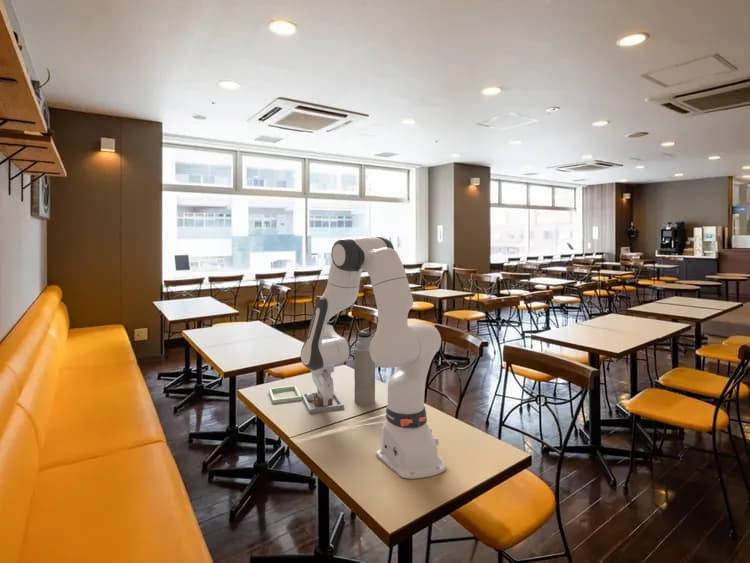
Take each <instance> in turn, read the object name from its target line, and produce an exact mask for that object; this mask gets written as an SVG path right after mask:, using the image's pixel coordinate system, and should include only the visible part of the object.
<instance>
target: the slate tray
mask: <svg viewBox="0 0 750 563" xmlns="http://www.w3.org/2000/svg"><path fill="white" fill-rule="evenodd" d="M317 392H318V391H316V392H315V391H314V392H308V393H300V395H301V400H302V401H303V403H304V405H305V407H306V408H307V409H306V410H307V411H308V413H309V414H314V413H321V412H328V411H335V410H342V409H345V404H344V403H343V401H342V400H341V398H340V397H339V396H338V394H337V393H336V391H334V396H333V398H334V400H336V401H335V402H337V404H334V405H332V406H325V407H318V408H317V407H311V405H310V403H309V401H307V399H306V395H307V394H309V393H311V394H313V396H314V395H316V394H317Z"/></svg>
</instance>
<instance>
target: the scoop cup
mask: <svg viewBox="0 0 750 563" xmlns="http://www.w3.org/2000/svg"><path fill="white" fill-rule="evenodd" d="M333 398H334V397H333ZM333 398H329V400H328V405H327V406H332V405H333V404H334V402H333V401H334V400H333ZM322 400H323V399H320V400H318V399H317V394H316V395H314V398H313V405H315V408H318V407H325V406H324V405H323V401H322Z"/></svg>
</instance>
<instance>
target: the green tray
mask: <svg viewBox="0 0 750 563" xmlns="http://www.w3.org/2000/svg"><path fill="white" fill-rule="evenodd" d="M291 391H294V392H295V394H296V395H295V396H289V397H288V396H287V397H279V398H275V397H274V395H278V394H282V393H288V392H291ZM268 394H269V397H270V400H271V401H272V402H271V403H272V404H280V403H287V402H288V403H290V402H296V401H302V395H301V393H300V391H299V389H298V387H297V385H287V386H279V387H272V388H271V387H270V388H268Z"/></svg>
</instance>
